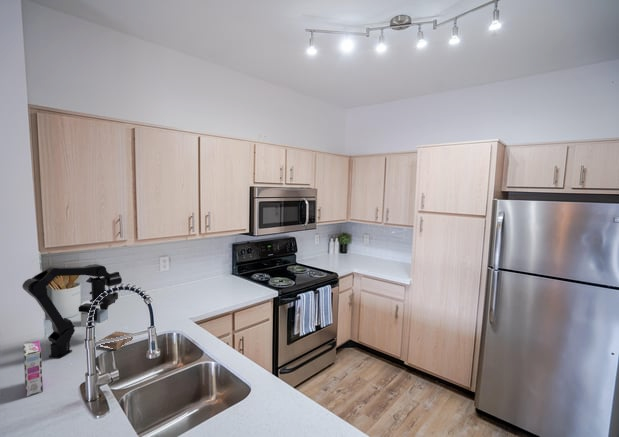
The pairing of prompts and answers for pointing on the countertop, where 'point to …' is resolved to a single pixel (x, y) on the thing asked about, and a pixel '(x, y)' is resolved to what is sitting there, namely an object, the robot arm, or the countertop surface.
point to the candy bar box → (33, 368)
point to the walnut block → (116, 344)
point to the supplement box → (86, 314)
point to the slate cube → (101, 315)
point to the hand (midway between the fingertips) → (99, 318)
